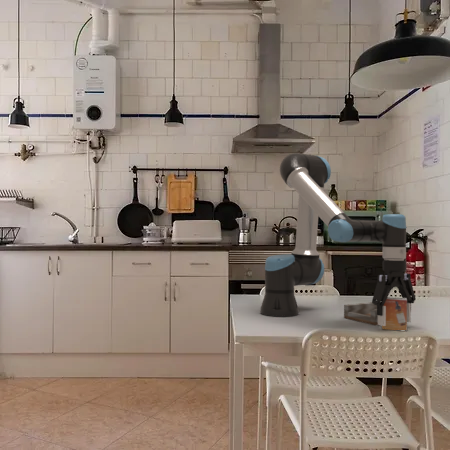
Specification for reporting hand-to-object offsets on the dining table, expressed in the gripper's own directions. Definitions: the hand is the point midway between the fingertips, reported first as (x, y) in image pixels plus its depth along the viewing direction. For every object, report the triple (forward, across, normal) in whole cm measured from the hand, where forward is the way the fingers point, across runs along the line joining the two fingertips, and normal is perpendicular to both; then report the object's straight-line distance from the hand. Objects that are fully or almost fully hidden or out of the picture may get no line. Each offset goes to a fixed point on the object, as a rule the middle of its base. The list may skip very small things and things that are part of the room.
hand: (394, 323), depth 153 cm
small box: (+2, 0, 0) cm, 2 cm away
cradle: (+2, +7, +15) cm, 17 cm away
